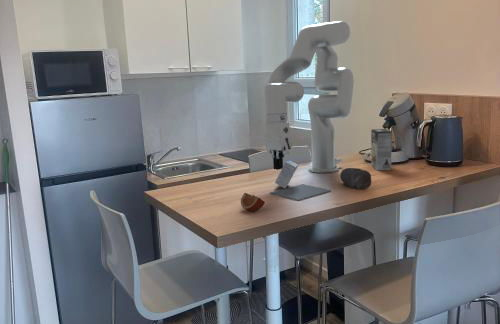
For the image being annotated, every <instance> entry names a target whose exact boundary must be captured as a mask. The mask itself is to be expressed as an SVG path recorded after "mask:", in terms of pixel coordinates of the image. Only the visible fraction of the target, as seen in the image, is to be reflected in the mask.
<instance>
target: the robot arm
mask: <svg viewBox="0 0 500 324" xmlns="http://www.w3.org/2000/svg"><path fill="white" fill-rule="evenodd" d="M350 33H351V28H350V26H349V24H348V22H346V21H344V20H340V21H339V20H338V21H331V22H323V23H317V24H311V25H305V26H304V27H302V28H301V29H300V30H299V32H298V35H297V38H296V40H295V43H294V45H293V47H292V48H291V49H292V50H291V53H289V54H290V55H289V56H288V57H287V58H286V59H285V60H283V61H282V62H281V63H279V64H278V66H277V67H275V69H273V71H272V73H271V75H270V77H269V79H268V82H267V84H266V85H265V86H264V105H265V106H264V107H265V125H264V147H265V149H266V151H267V152H268V153H270V155H271V158H272V162H273V163H272V164H273V170H276V171H277V170H279V171H280V170H282V168H283V166H284V162H283V161H284V157H285V155H288V154H290V150H291V149H292V147H293V146H292V145H293V143H292V134H291V128H290V123H289V121H288V115H287V114H288V111H287V103H289V104H290V103H298V102H299V101H301V100H302V99H303V97H304V95H305V89H304V87H303V85H302V84H301V83H299V82H298V81H287V80H289V79H290V78H291V77H292V76H295V75H297V74H300V73H301V72H303V71H305V70H306V69H308V68H309V67H310V66H311V65H312V62H313V59H314V56H315V54H316V67H315V75H314V88H315V90H316V91H318V92H323V93H336V92H337V94H317V95H313V96H312V97H311V98H310V99H309V100H308V103H307V110H308V113H309V119H310V130H311V131H310V132H311V133H310V134H311V136H310V138H311V141H310V142H311V165H310V166H308V171H309V172H311V173H317V174H327V173H334V172H338V171H339V168H340V167H339V166H337V164H340V163H342V161H343V160H342V158H336V156H335V155H336V152H335V150H336V149H335V127H334V124H333V123H332V120H331V119H345V118H347V117H348V116H349V115H350V112H351V110H352V109H351V108H352V100H353V92H354V81H355V80H354V75H353V72H352V70H351V69H350V68H348V67H338V62H339V61H338V60H339V59H338V58H339V57H338V54H337V52H336V51H335V49H334V48H333V46H337V45H341V44H345V43H346V42H347V41H348V40H349V38H350V35H351V34H350Z"/></svg>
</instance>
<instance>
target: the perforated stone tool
mask: <svg viewBox="0 0 500 324" xmlns="http://www.w3.org/2000/svg"><path fill="white" fill-rule="evenodd" d="M339 176H340V177H339V178H340V180H341V182H342V183H343V184H344V185H347V186H348V187H350V188H352V189H356V188H357V189H358V190H363V189H364V190H365V189H368V188H369V187H370V186H371V184H372V174H371V173H370V172H369V171H367V170H364V169H361V168H357V167H346V168H344V169H342V170H341V172H340V175H339Z"/></svg>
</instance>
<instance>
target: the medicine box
mask: <svg viewBox="0 0 500 324" xmlns="http://www.w3.org/2000/svg"><path fill="white" fill-rule="evenodd" d="M298 167H299V164H298V163H296V162H293V161H292V160H289V159H288V160H287V161H285V163H283V168H282V169H280V172H279V173H278V175H277V178H276V179H275V181H274V183H275V184H276V185H278V186H280V187H281V188H282V189H285V188H288V185H289V184H290V181H291V179H292V178H293V176H294V175H295V173H296V171H297V168H298Z"/></svg>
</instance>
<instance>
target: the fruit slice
mask: <svg viewBox="0 0 500 324" xmlns="http://www.w3.org/2000/svg"><path fill="white" fill-rule="evenodd" d="M240 204H241V207H242V208H243V209H244V210H246V211H247V212H256V211H258V210H260V209H261V208H262V207H263V206H264V205H265V204H266V202H265V200H263V199H262V198H261V197H259V196H257V195H254V194H253V195H251V194H249V193H246V192H244V193H243V194H242V196H241V198H240Z"/></svg>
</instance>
